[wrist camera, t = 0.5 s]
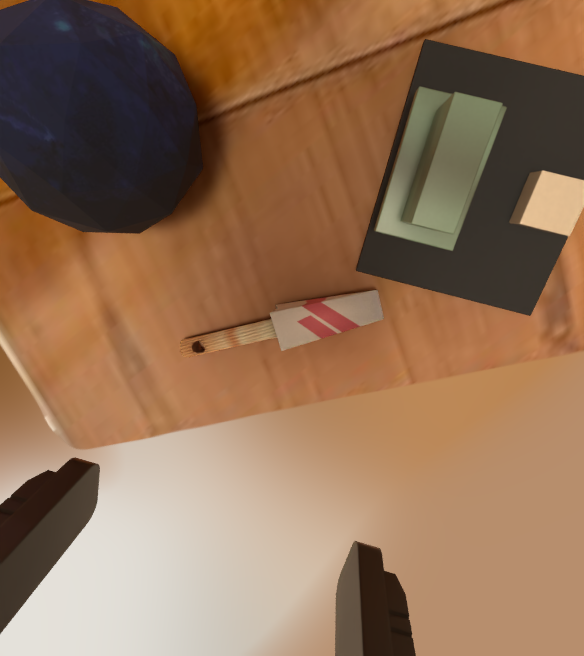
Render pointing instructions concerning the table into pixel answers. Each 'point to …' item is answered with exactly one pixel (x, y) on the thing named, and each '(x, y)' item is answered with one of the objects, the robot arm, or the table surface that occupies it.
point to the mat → (491, 181)
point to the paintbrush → (295, 323)
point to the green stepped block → (438, 166)
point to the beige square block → (549, 203)
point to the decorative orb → (93, 117)
